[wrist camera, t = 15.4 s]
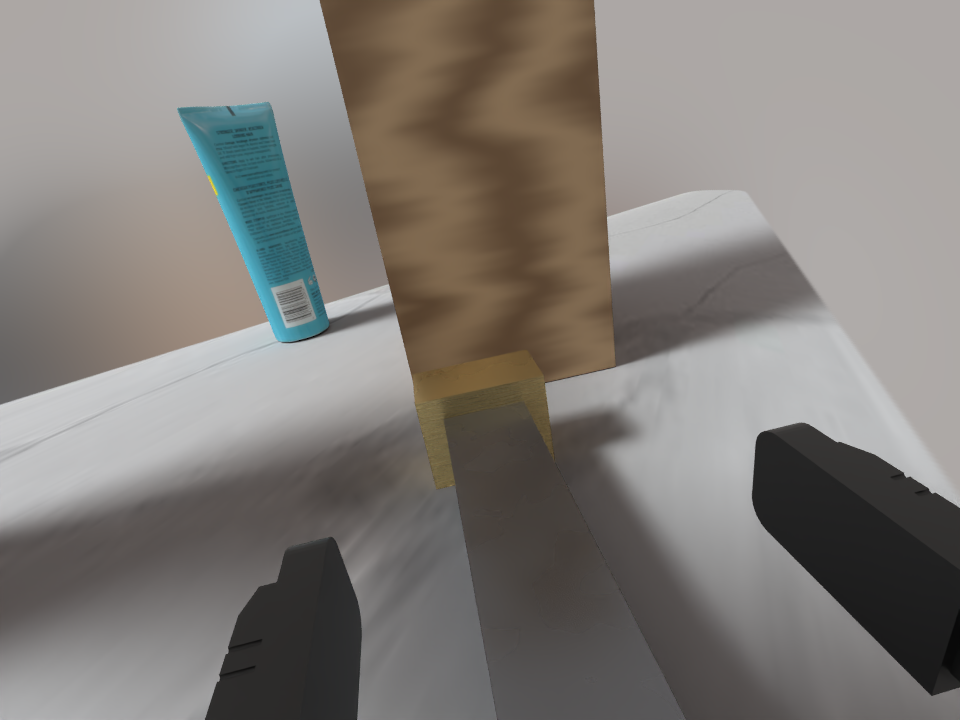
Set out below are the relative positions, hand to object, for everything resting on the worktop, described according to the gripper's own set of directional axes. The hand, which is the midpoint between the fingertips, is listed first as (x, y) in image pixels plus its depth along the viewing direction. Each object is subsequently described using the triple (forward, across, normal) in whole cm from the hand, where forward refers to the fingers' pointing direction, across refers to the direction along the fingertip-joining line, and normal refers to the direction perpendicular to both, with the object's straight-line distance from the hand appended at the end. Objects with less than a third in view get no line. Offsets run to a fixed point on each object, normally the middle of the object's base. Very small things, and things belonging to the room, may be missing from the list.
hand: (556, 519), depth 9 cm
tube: (+39, +13, +8) cm, 42 cm away
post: (+26, -3, +7) cm, 27 cm away
